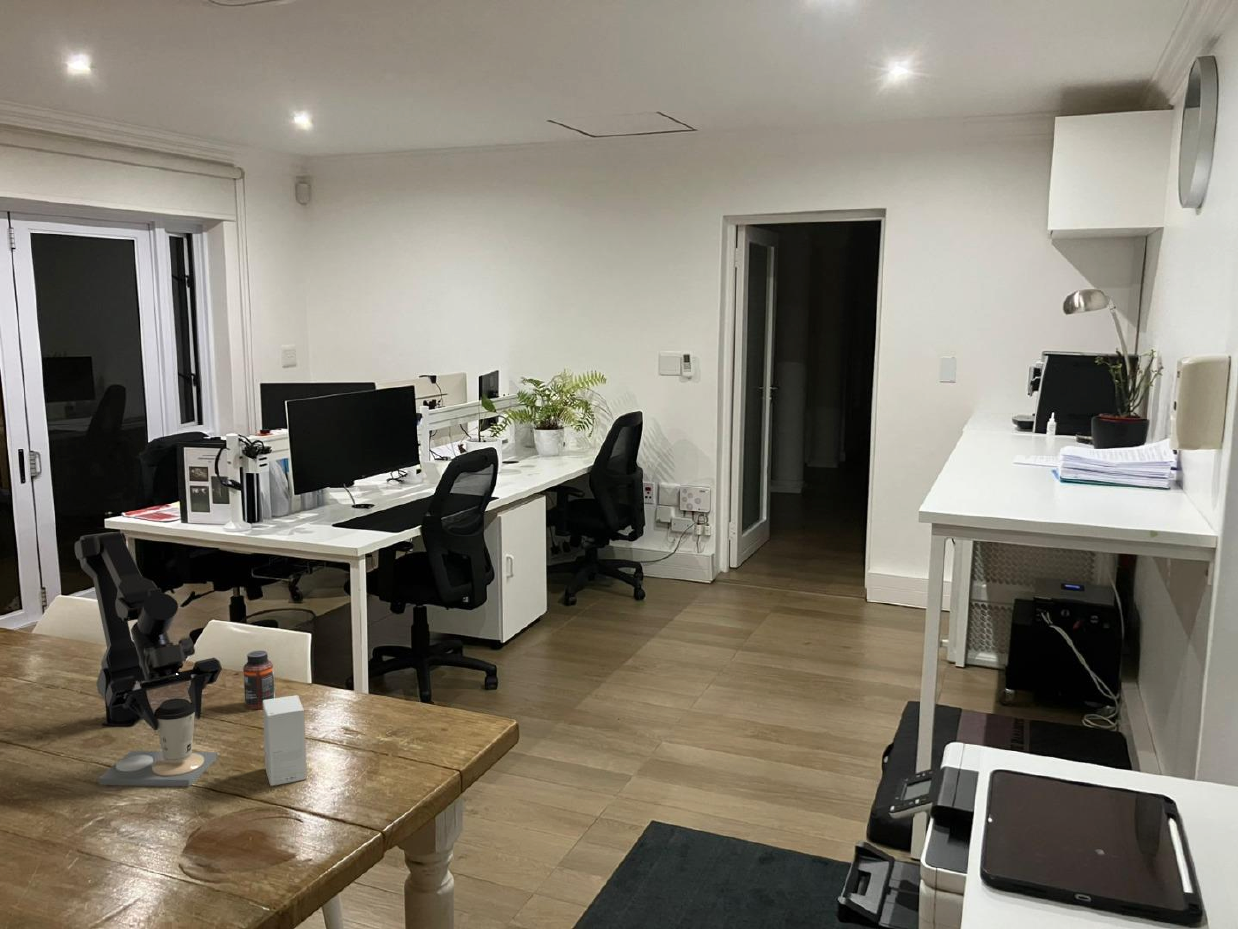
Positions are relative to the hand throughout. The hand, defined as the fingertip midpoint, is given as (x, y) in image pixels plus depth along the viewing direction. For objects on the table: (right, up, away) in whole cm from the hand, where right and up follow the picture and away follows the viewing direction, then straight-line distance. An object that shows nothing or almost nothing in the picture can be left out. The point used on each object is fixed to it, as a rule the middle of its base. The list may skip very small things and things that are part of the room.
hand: (178, 723), depth 172 cm
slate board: (-4, -9, +2) cm, 10 cm away
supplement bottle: (+2, -5, +33) cm, 33 cm away
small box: (+19, -10, +2) cm, 21 cm away
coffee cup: (-1, -7, +2) cm, 7 cm away
